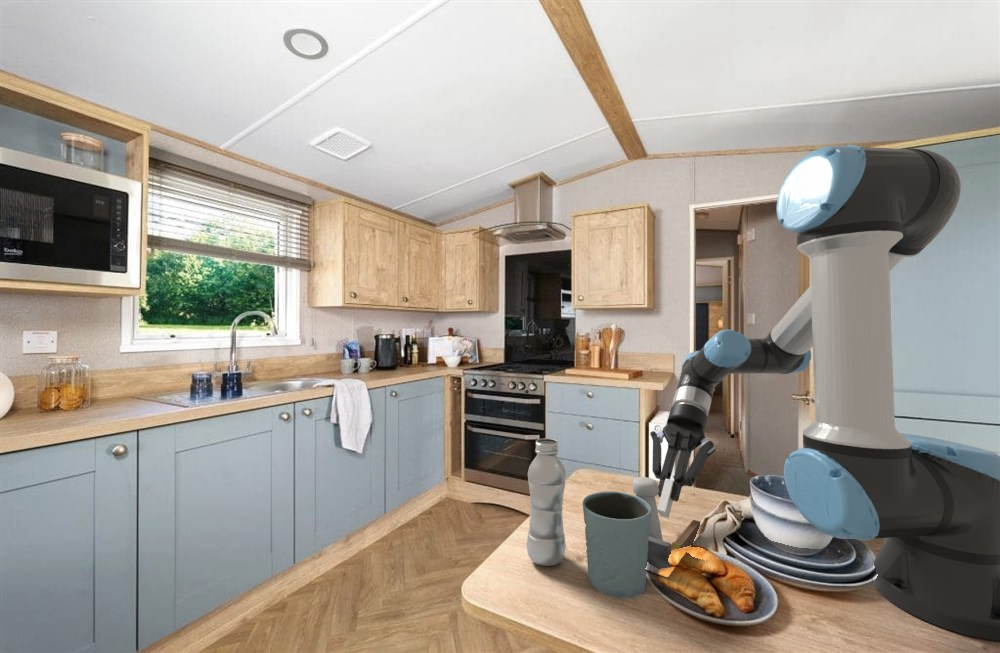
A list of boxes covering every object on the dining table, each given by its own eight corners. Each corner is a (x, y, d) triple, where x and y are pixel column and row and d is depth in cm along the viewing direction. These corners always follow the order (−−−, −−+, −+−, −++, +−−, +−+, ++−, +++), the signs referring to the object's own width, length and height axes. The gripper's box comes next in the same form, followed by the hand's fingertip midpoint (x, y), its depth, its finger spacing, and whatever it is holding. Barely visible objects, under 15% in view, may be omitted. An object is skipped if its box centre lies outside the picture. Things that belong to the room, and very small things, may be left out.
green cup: (650, 570, 68) (651, 495, 68) (650, 610, 58) (651, 524, 58) (587, 557, 71) (587, 487, 71) (577, 594, 62) (577, 512, 62)
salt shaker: (656, 546, 75) (657, 473, 75) (668, 564, 69) (669, 486, 69) (623, 545, 75) (623, 473, 75) (632, 564, 69) (633, 485, 69)
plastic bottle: (518, 560, 70) (518, 441, 70) (545, 545, 75) (545, 434, 75) (547, 577, 66) (547, 449, 65) (574, 560, 70) (574, 441, 70)
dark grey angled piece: (700, 534, 79) (700, 508, 79) (667, 578, 65) (667, 546, 65) (640, 516, 86) (640, 492, 86) (600, 552, 73) (600, 523, 73)
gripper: (724, 426, 90) (703, 533, 78) (663, 417, 99) (634, 512, 86) (718, 405, 86) (695, 515, 73) (655, 398, 94) (624, 495, 82)
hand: (662, 513), depth 80 cm, fingers closed
